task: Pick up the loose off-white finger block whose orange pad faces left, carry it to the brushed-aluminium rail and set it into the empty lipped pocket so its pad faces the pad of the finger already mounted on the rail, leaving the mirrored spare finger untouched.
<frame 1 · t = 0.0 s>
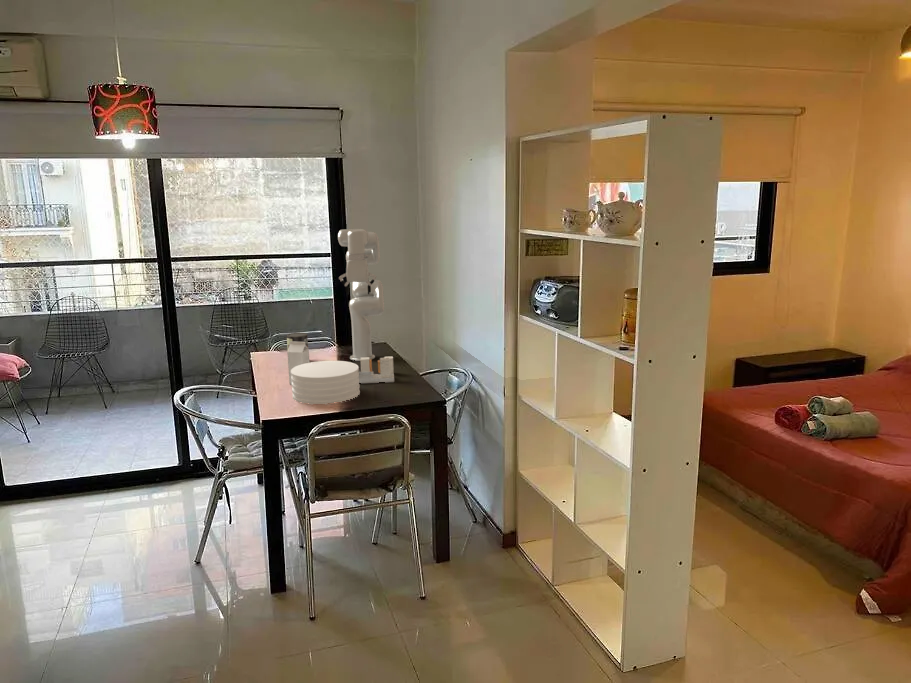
hand: (358, 294, 319), 37 cm above the table, tool pointing down, fingers open, 9 cm apart
milk carton: (300, 383, 306), on the table
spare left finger: (389, 374, 319), on the table
plate stack: (326, 395, 288), on the table
coffee can: (298, 362, 345), on the table
rail: (367, 380, 308), on the table
right finger: (365, 375, 318), on the table
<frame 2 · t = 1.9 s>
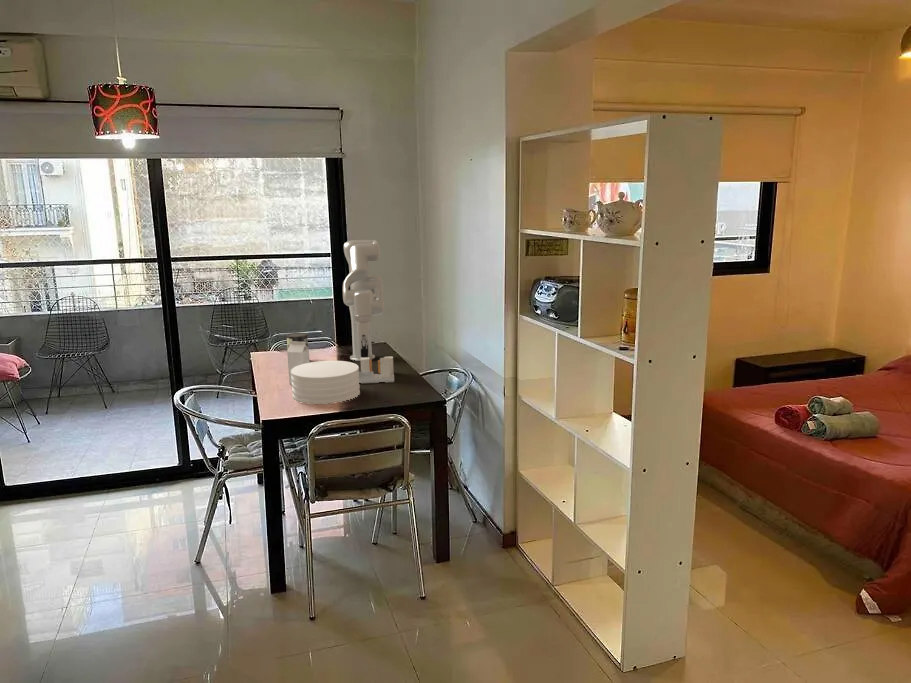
hand: (364, 355, 315), 10 cm above the table, tool pointing down, fingers open, 9 cm apart
nothing on the table moved.
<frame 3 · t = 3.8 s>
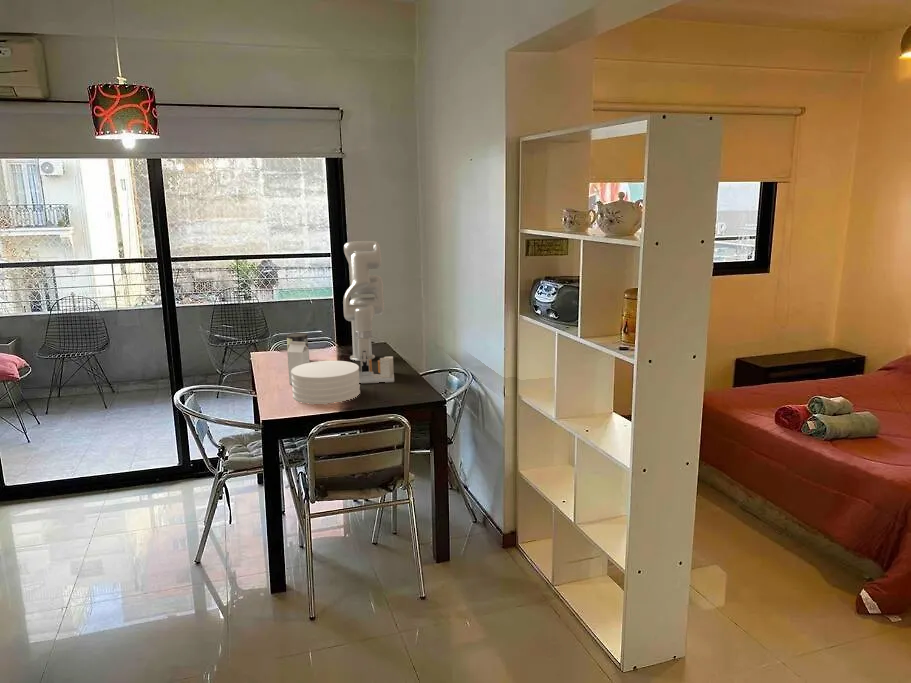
hand: (365, 372, 318), 1 cm above the table, tool pointing down, fingers closed on right finger, 4 cm apart
right finger: (365, 375, 318), on the table, touching gripper
everything else where it was.
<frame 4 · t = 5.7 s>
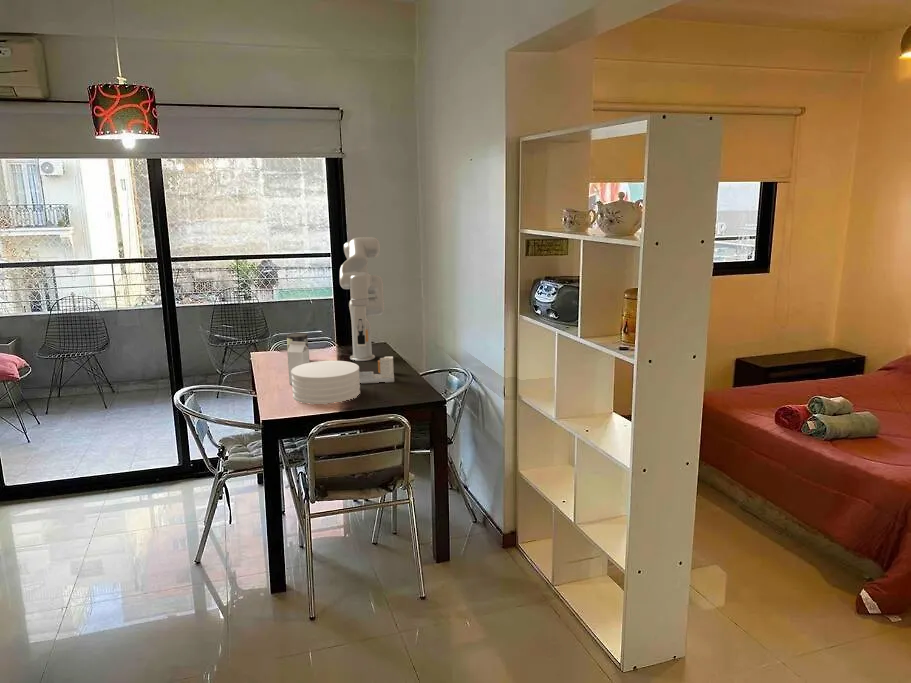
hand: (361, 342, 304), 18 cm above the table, tool pointing down, fingers closed on right finger, 4 cm apart
right finger: (361, 345, 305), point 16 cm above the table, touching gripper
everything else where it was.
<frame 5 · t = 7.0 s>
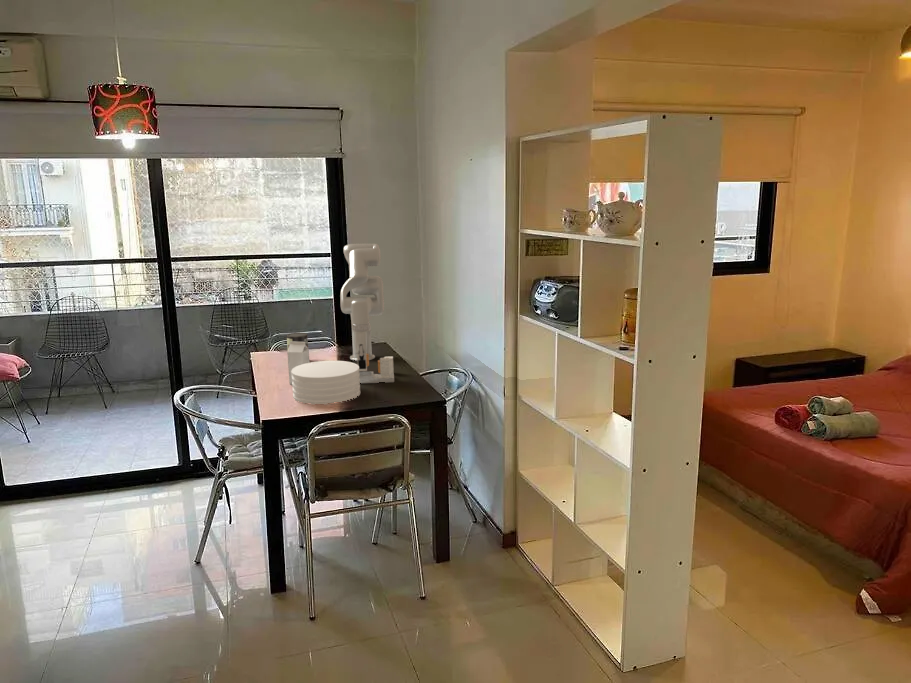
hand: (362, 367, 306), 7 cm above the table, tool pointing down, fingers closed on right finger, 4 cm apart
right finger: (362, 369, 307), point 5 cm above the table, touching gripper
everything else where it was.
when the fingers open (4 cm above the table, at t = 8.1 s): right finger stays where it is, resting on rail.
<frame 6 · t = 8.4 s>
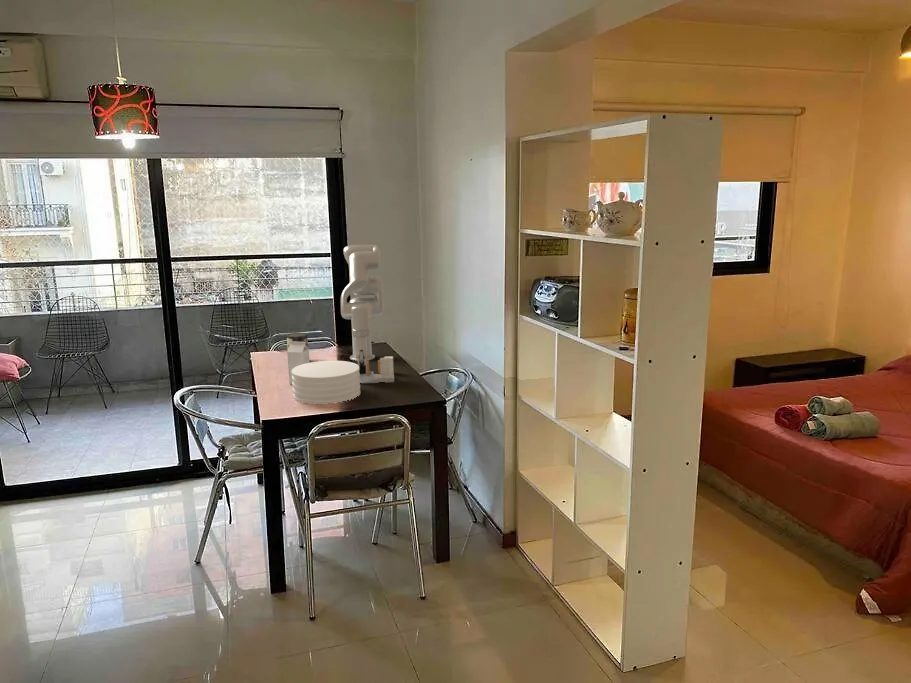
hand: (362, 371, 307), 4 cm above the table, tool pointing down, fingers open, 6 cm apart
right finger: (362, 376, 308), point 2 cm above the table, touching rail
everything else where it was.
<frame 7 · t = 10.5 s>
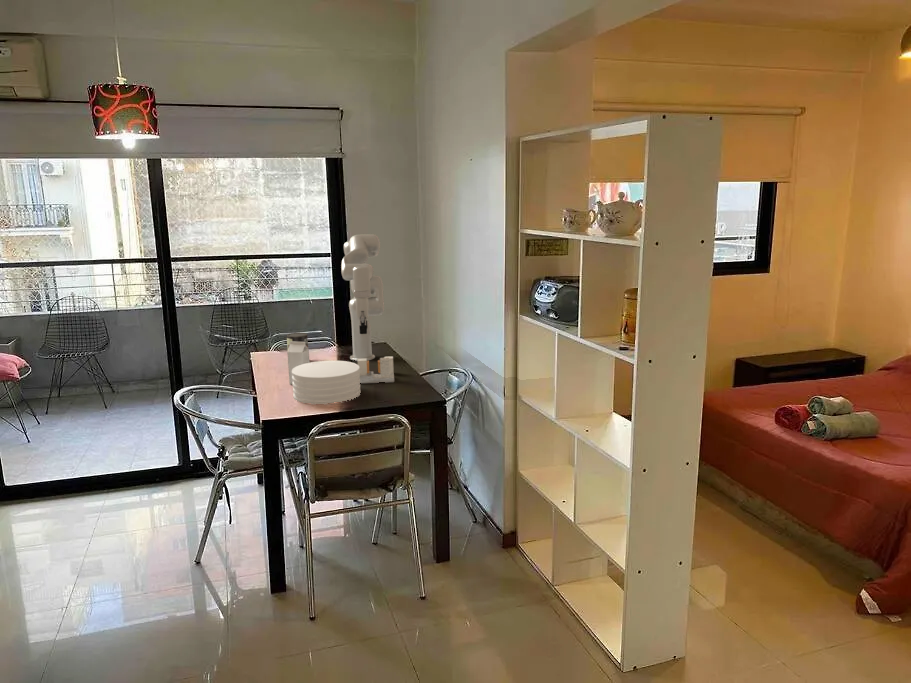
hand: (363, 331, 308), 22 cm above the table, tool pointing down, fingers open, 9 cm apart
nothing on the table moved.
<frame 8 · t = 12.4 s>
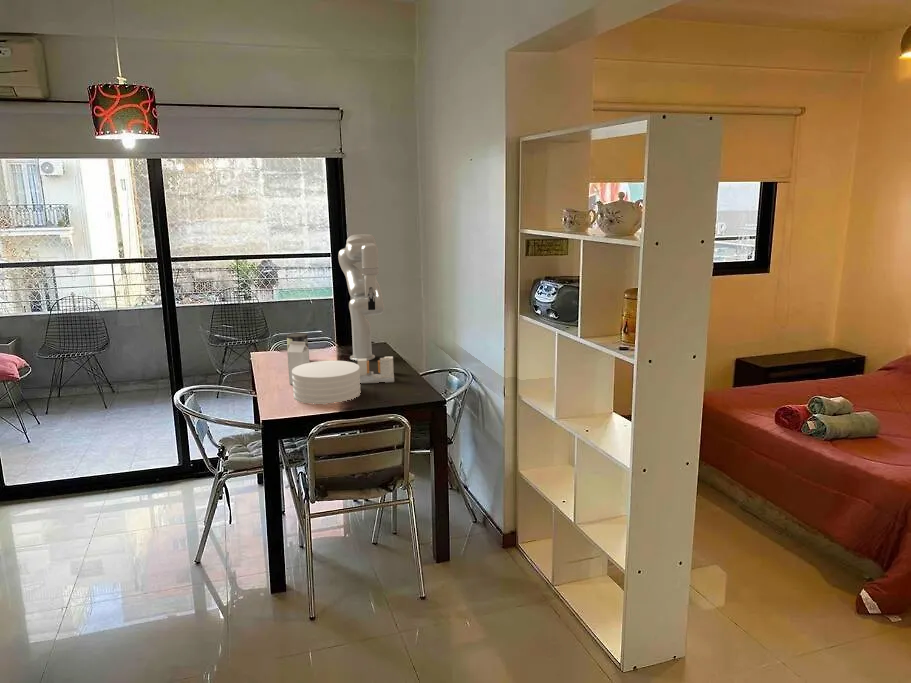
hand: (371, 308, 319), 30 cm above the table, tool pointing down, fingers open, 9 cm apart
nothing on the table moved.
at the end: right finger 0.1 cm from the target spot on the rail, point 2.0 cm above the rail's base; right finger tilted 0°; the gripper is holding nothing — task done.
